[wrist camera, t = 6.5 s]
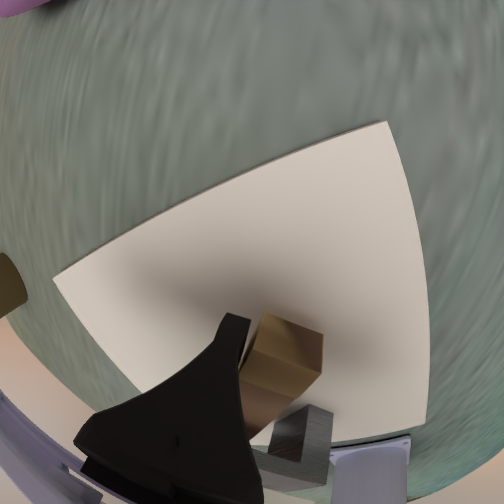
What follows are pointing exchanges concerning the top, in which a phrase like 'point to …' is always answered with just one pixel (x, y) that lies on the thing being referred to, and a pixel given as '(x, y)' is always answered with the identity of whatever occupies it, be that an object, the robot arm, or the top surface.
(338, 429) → the board
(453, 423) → the top surface
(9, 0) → the teapot
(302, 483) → the keeper
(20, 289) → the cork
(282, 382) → the link
